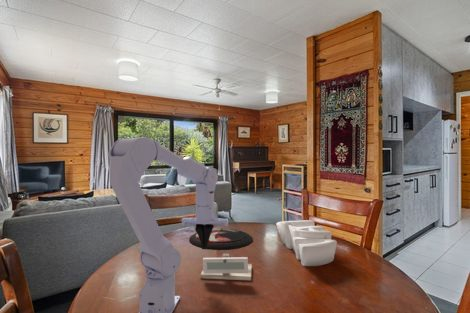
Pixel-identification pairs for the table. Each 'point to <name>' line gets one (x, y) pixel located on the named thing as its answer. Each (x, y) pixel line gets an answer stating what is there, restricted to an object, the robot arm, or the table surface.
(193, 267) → the table surface
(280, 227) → the white wavy slab sculpture
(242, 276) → the easel stand
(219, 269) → the frame
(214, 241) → the wall clock
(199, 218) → the robot arm
